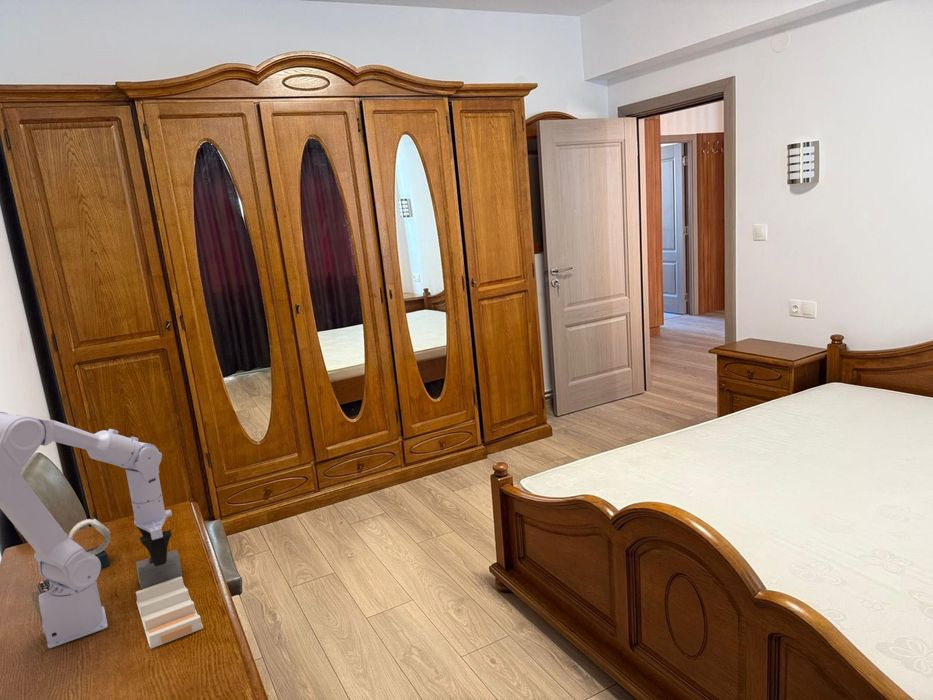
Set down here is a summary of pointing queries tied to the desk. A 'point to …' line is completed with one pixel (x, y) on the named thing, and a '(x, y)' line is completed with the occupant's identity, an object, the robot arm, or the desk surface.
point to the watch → (98, 550)
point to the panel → (158, 570)
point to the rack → (167, 612)
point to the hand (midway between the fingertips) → (157, 556)
